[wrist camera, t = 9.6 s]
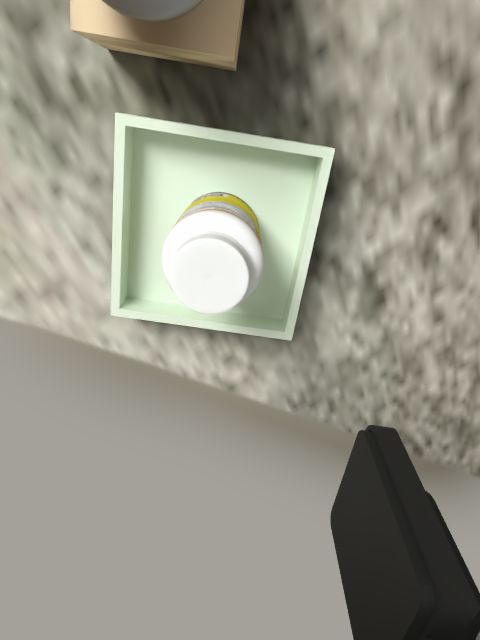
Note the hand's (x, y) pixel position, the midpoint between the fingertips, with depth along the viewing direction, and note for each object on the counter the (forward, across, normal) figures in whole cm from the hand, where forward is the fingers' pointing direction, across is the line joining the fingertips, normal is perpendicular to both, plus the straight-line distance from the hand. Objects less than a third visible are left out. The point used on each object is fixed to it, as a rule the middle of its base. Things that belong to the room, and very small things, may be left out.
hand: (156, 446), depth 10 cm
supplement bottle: (+22, 0, 0) cm, 22 cm away
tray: (+23, 0, 0) cm, 23 cm away
